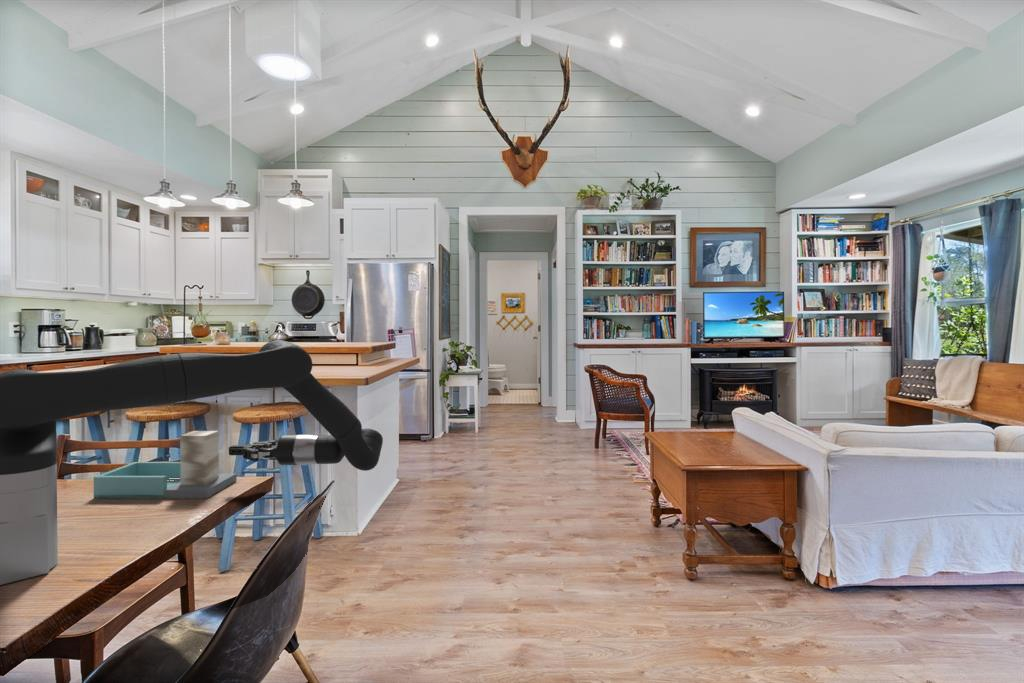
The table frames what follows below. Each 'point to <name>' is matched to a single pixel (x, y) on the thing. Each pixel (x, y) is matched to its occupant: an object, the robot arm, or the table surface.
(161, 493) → the box
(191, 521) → the table surface
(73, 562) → the table surface
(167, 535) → the table surface
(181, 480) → the block
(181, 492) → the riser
